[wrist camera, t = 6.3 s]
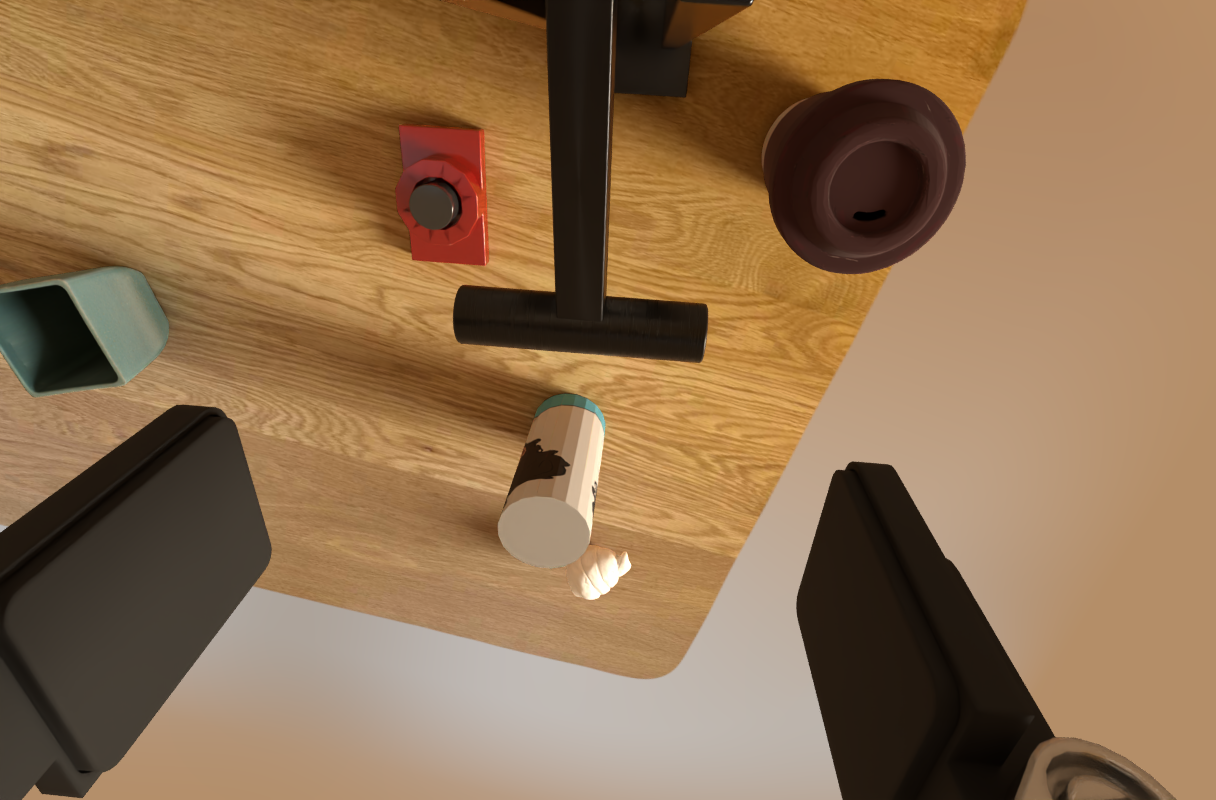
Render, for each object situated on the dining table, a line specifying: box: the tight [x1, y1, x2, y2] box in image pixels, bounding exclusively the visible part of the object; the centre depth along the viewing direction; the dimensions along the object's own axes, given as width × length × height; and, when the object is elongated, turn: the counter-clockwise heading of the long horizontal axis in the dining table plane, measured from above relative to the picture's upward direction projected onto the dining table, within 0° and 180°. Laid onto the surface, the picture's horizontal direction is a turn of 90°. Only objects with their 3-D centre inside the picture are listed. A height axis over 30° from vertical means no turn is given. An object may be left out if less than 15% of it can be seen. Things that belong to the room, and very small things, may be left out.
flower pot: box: [0, 266, 169, 397], centre depth 50 cm, size 9×9×9 cm
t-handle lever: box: [453, 0, 708, 363], centre depth 12 cm, size 11×6×2 cm, turn 177°
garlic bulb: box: [566, 545, 631, 600], centre depth 62 cm, size 6×6×6 cm
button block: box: [395, 124, 489, 266], centre depth 46 cm, size 10×6×3 cm, turn 177°
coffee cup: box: [762, 79, 966, 274], centre depth 38 cm, size 10×10×15 cm
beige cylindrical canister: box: [498, 393, 605, 568], centre depth 50 cm, size 7×7×15 cm
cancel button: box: [409, 180, 459, 230], centre depth 45 cm, size 3×3×2 cm
